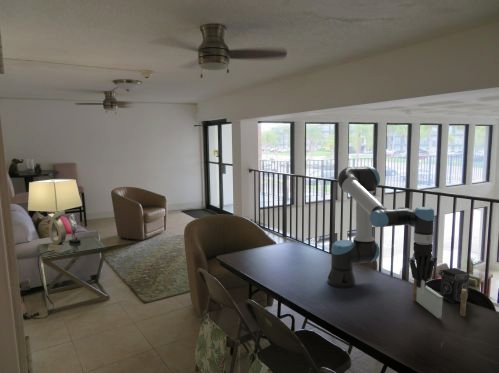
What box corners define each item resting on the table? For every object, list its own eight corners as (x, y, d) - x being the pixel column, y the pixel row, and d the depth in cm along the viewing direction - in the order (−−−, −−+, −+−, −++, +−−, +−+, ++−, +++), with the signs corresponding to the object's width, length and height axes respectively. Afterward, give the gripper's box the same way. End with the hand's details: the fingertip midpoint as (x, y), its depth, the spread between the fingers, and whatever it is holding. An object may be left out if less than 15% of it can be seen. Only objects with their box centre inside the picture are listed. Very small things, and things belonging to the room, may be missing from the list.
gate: (415, 300, 171) (417, 281, 169) (419, 300, 171) (420, 281, 170) (437, 318, 154) (439, 297, 153) (441, 317, 154) (443, 296, 153)
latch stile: (459, 315, 159) (461, 289, 157) (461, 313, 160) (463, 288, 159) (464, 316, 157) (466, 291, 156) (465, 314, 159) (467, 289, 158)
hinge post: (410, 300, 173) (412, 276, 171) (413, 298, 175) (414, 274, 174) (417, 302, 171) (418, 277, 169) (419, 300, 173) (421, 276, 171)
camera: (455, 306, 167) (457, 276, 165) (438, 297, 177) (440, 268, 175) (472, 303, 169) (475, 274, 167) (454, 294, 179) (456, 266, 178)
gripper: (415, 245, 148) (412, 298, 151) (442, 243, 151) (439, 296, 153) (404, 241, 156) (402, 291, 158) (430, 239, 158) (427, 289, 161)
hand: (420, 294), depth 156 cm, fingers closed
